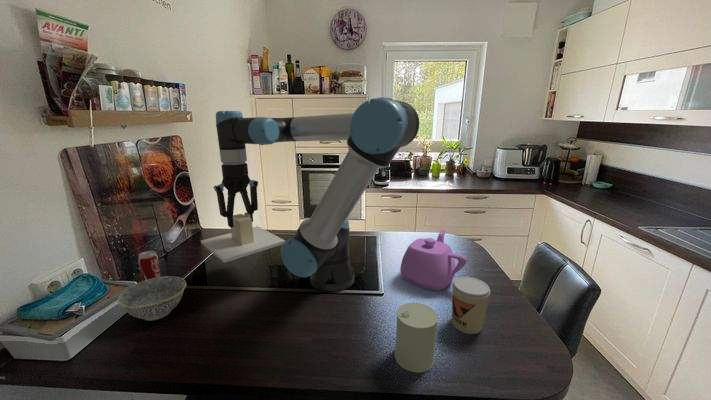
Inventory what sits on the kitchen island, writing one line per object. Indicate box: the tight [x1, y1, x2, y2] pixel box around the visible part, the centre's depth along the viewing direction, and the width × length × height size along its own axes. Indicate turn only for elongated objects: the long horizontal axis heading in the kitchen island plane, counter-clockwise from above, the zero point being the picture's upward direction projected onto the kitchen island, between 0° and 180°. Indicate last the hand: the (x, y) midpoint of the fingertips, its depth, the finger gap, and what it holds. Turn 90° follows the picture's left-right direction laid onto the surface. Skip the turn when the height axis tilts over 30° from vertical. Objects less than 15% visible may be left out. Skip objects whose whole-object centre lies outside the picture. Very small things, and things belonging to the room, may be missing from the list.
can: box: [394, 302, 439, 374], centre depth 68 cm, size 9×9×12 cm
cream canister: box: [451, 276, 491, 335], centre depth 80 cm, size 9×9×12 cm
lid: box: [200, 213, 286, 264], centre depth 98 cm, size 20×20×9 cm
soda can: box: [137, 250, 162, 282], centre depth 97 cm, size 5×5×12 cm
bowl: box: [116, 275, 187, 322], centre depth 84 cm, size 16×16×8 cm
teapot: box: [399, 230, 467, 291], centre depth 103 cm, size 23×21×15 cm
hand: (242, 233), depth 98 cm, fingers closed on lid, 4 cm apart
